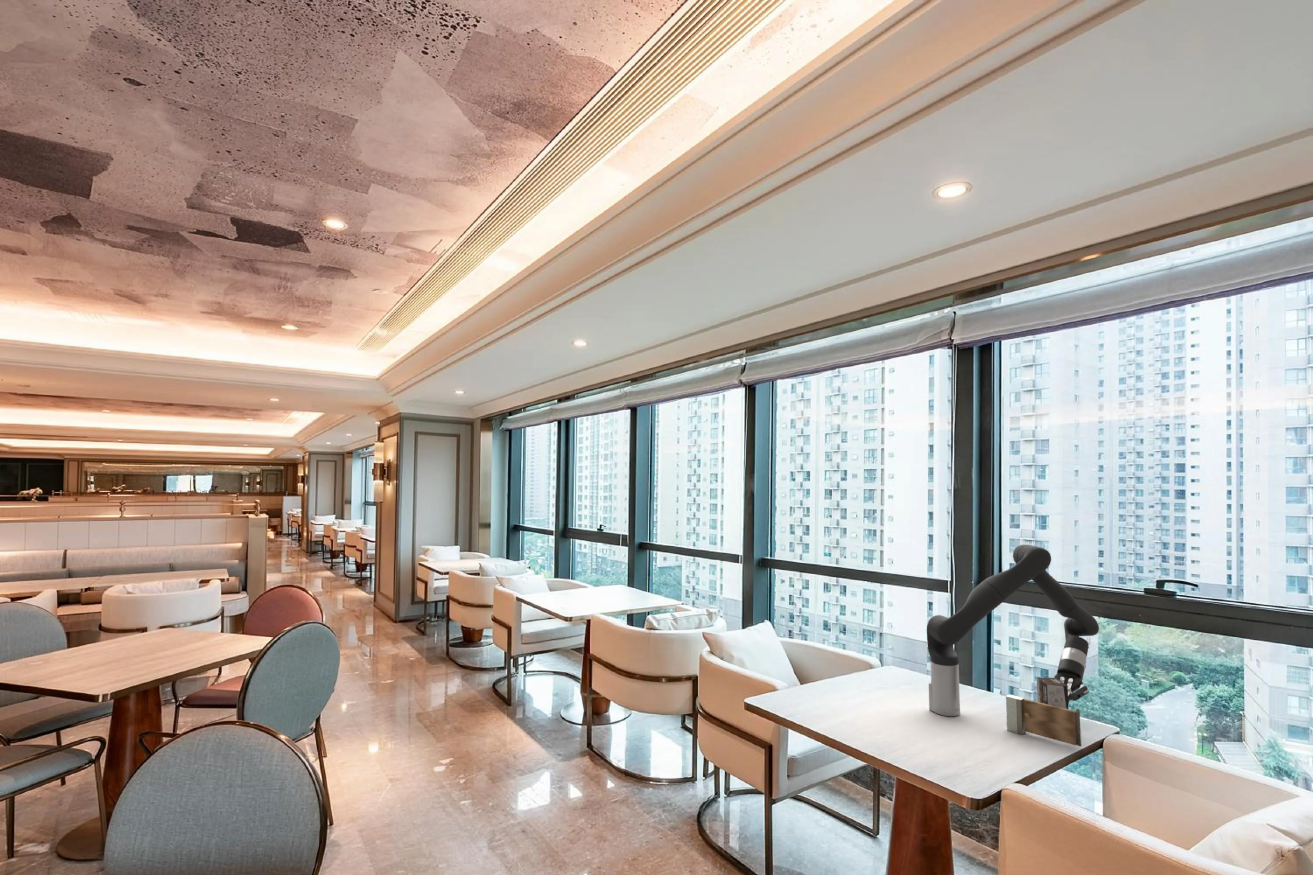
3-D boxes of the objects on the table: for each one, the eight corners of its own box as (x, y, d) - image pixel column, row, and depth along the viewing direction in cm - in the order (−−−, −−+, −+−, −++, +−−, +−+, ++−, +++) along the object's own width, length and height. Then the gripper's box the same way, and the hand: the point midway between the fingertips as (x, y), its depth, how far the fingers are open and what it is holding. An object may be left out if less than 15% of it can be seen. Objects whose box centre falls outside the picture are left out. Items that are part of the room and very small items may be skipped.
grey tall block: (1006, 730, 208) (1005, 696, 209) (1010, 728, 210) (1009, 694, 211) (1022, 734, 205) (1021, 699, 205) (1025, 732, 207) (1024, 697, 207)
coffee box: (1070, 737, 203) (1068, 685, 204) (1048, 735, 204) (1046, 684, 205) (1058, 726, 212) (1056, 677, 213) (1037, 724, 213) (1035, 676, 214)
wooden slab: (1023, 732, 204) (1022, 697, 205) (1026, 730, 206) (1025, 695, 206) (1079, 747, 192) (1077, 710, 193) (1081, 745, 194) (1080, 708, 195)
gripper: (1048, 654, 226) (1037, 696, 218) (1091, 662, 216) (1081, 707, 208) (1053, 666, 229) (1043, 708, 221) (1096, 674, 219) (1087, 719, 211)
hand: (1061, 707), depth 214 cm, fingers closed
